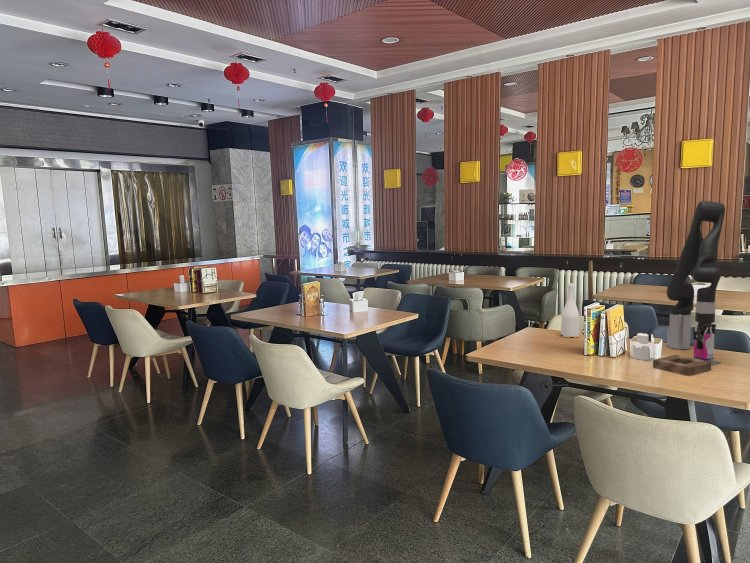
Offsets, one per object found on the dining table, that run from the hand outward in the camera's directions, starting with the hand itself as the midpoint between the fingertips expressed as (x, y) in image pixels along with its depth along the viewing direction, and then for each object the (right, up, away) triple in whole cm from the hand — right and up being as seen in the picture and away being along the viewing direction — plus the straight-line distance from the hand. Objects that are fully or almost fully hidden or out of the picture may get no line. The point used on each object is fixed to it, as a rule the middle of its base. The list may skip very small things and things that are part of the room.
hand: (703, 348), depth 241 cm
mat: (0, -6, +1) cm, 7 cm away
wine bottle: (-38, -1, +60) cm, 71 cm away
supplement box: (0, -5, +1) cm, 5 cm away
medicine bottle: (-22, -6, +10) cm, 25 cm away
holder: (-15, -8, -9) cm, 19 cm away
